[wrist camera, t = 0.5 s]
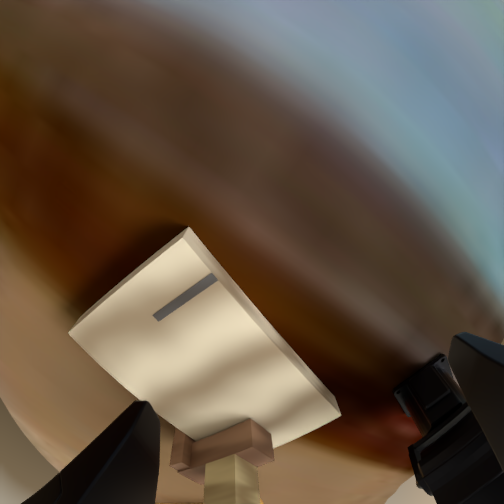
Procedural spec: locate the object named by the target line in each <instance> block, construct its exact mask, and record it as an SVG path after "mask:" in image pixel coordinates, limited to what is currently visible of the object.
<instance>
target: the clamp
mask: <svg viewBox="0 0 504 504" xmlns="http://www.w3.org/2000/svg"><path fill="white" fill-rule="evenodd" d="M156 504H169V503H156ZM197 504H204V503H197ZM260 504H264V503H263V502H262V500H261V499H260Z"/></svg>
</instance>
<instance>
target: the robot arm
mask: <svg viewBox="0 0 504 504" xmlns="http://www.w3.org/2000/svg"><path fill="white" fill-rule="evenodd" d="M448 360H449V363H448ZM448 360H447V357H446V356H445V355H444V354H441V355H440V356H439V357H437V358H436V359H435V360H433V361H432V362H431V363H429V364H428V365H427V366H425V367H424V368H423V369H421V370H420V371H419V372H417V373H416V374H414V375H413V376H412V377H410V378H409V379H407V380H406V381H404V382H403V383H401V384H400V385H398V386H397V387H395V388H394V389H393V394H394V395H395V397H396V399H397V400H398V402H399V403H400V405H401V407H402V408H403V410H404V412H405V413H406V415H407V416H408V417H412V419H413V420H414V422H415V424H416V426H417V428H418V429H419V431H420V433H421V435H422V437H423V438H421V439H420V440H418V441H417V442H416V443H414V444H412V445H410V446H409V447H408V450H409V457H410V460H411V464H412V467H413V470H414V474H415V477H416V485H417V487H418V488H421V489H424V491H425V492H426V493H427V494H429V495H430V496H434V498H435V500H436V503H437V504H504V345H501V344H498V343H496V342H493V341H490V340H487V339H484V338H481V337H478V336H475V335H473V334H470V333H467V332H462V333H459V334H457V335H455V336H453V338H452V341H451V346H450V351H449V356H448ZM449 364H450V366H451V368H452V371H453V373H454V375H455V377H456V379H457V381H458V383H459V386H460V387H459V386H458V385H457V383H456V382H455V381H454V379H453V376H452V373H451V369H450V366H449ZM159 462H160V420H159V418H158V416H157V414H156V412H155V411H154V409H153V407H152V405H151V404H150V402H149V401H146V400H141V401H134V402H133V403H132V404H131V405H130V406H129V407H128V408H127V409H126V410H125V411H124V412H123V413H122V414H120V415H119V416H118V417H117V418H116V419H115V420H114V421H113V422H112V423H111V424H110V425H109V426H108V427H107V428H106V429H105V430H104V431H103V432H102V433H101V434H100V435H99V436H98V437H97V438H95V439H94V440H93V441H92V442H91V443H90V444H89V445H88V446H87V447H86V448H85V449H84V450H83V451H82V452H81V453H80V454H79V455H77V456H76V457H75V458H74V459H73V460H72V461H71V462H70V463H69V464H68V465H67V466H66V467H65V468H64V469H62V470H61V471H60V473H58V474H57V475H56V476H55V477H54V478H53V479H52V480H50V481H49V482H48V483H47V484H46V485H45V486H44V487H42V488H41V489H40V490H39V491H37V492H36V493H35V494H34V495H32V496H31V497H29V498H28V499H27V500H25V501H24V502H23V503H21V504H155V498H156V490H157V482H158V475H159Z"/></svg>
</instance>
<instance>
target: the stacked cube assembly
mask: <svg viewBox="0 0 504 504" xmlns="http://www.w3.org/2000/svg"><path fill="white" fill-rule="evenodd" d="M272 461H275V460H274V452H273V444H272V436H271V433H269V432H268V431H267V430H265V429H264V428H263V427H261V426H260V425H259V424H257V423H256V422H255V421H253V420H252V419H248V420H246V421H244V422H242V423H240V424H237V425H235V426H233V427H231V428H228V429H226V430H224V431H221V432H219V433H216V434H214V435H212V436H209V437H207V438H204V439H201V440H199V441H195V440H194V439H192V438H191V437H189V436H188V435H186V434H185V433H183V432H182V431H180V430H179V429H178V428H175V434H174V440H173V446H172V453H171V459H170V467H172V468H174V469H176V470H177V471H178V473H179V474H181V475H183V476H185V477H187V478H189V479H191V480H192V481H194V482H196V483H198V484H200V485H203V484H204V504H260V494H259V482H258V470H257V467H259V466H262V465H265V464H267V463H270V462H272Z"/></svg>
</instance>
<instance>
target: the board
mask: <svg viewBox="0 0 504 504" xmlns="http://www.w3.org/2000/svg"><path fill="white" fill-rule="evenodd" d="M68 334H69V335H70V336H71V337H72V338H73V339H74V340H75V341H76V342H77V343H78V344H79V345H80V346H81V347H82V348H83V349H84V350H85V351H86V352H87V353H88V354H89V355H90V356H91V357H92V358H93V359H94V360H95V361H96V362H97V363H98V364H99V365H100V366H101V367H102V368H104V369H105V370H106V371H107V372H108V373H109V374H110V375H111V376H112V377H113V378H115V379H116V380H117V381H118V382H119V383H120V384H121V385H123V386H124V387H125V388H126V389H127V390H128V391H130V392H131V393H132V394H133V395H134V396H136V397H137V398H138V399H139V400H146V401H149V402H150V404H151V405H152V407H153V409H154V411H155V412H156V413H157V414H158V415H160V416H161V417H162V418H164V419H165V420H166V421H168V422H169V423H171V424H172V425H173V426H175V427H176V428H178V429H179V430H180V431H182V432H183V433H185V434H186V435H188V436H189V437H191V438H192V439H194V440H195V441H199V440H201V439H204V438H207V437H209V436H212V435H214V434H216V433H219V432H221V431H224V430H226V429H228V428H231V427H233V426H235V425H237V424H240V423H242V422H244V421H246V420H248V419H252V420H253V421H255V422H256V423H257V424H259V425H260V426H261V427H263V428H264V429H265V430H267V431H268V432H269V433H271V436H272V444H273V448H276V447H278V446H280V445H283V444H285V443H287V442H289V441H292V440H294V439H296V438H298V437H300V436H302V435H304V434H307V433H309V432H311V431H313V430H315V429H317V428H319V427H321V426H323V425H325V424H327V423H329V422H330V421H332V420H334V419H336V418H338V417H340V416H342V415H341V413H340V410H339V407H338V404H337V402H336V399H335V396H334V395H333V394H332V393H331V392H330V391H329V390H328V389H327V388H326V386H325V385H324V384H323V383H322V382H321V381H320V380H319V379H318V378H317V376H316V375H315V374H314V373H313V372H312V371H311V370H310V369H309V368H308V366H307V365H306V364H305V363H304V362H303V361H302V360H301V359H300V357H299V356H298V355H297V354H296V353H295V352H294V351H293V349H292V348H291V347H290V346H289V345H288V344H287V343H286V341H285V340H284V339H283V338H282V337H281V336H280V335H279V333H278V332H277V331H276V330H275V329H274V328H273V326H272V325H271V324H270V323H269V322H268V321H267V320H266V318H265V317H264V316H263V315H262V314H261V313H260V311H259V310H258V309H257V308H256V307H255V306H254V304H253V303H252V302H251V301H250V300H249V298H248V297H247V296H246V295H245V294H244V293H243V291H242V290H241V289H240V288H239V287H238V285H237V284H236V283H235V282H234V281H233V279H232V278H231V277H230V276H229V275H228V274H227V272H226V271H225V270H224V269H223V268H222V266H221V265H220V264H219V263H218V261H217V260H216V259H215V258H214V257H213V255H212V254H211V253H210V252H209V251H208V249H207V248H206V247H205V246H204V244H203V243H202V242H201V241H200V240H199V238H198V237H197V236H196V235H195V233H194V232H193V231H192V230H191V228H190V227H187V228H186V229H185V230H184V231H182V232H181V233H180V234H179V235H177V236H176V237H175V238H173V239H172V240H171V241H170V242H168V243H167V244H166V245H165V246H163V247H162V248H161V249H160V250H158V251H157V252H156V253H155V254H153V255H152V256H151V257H150V258H149V259H147V260H146V261H145V262H144V263H142V264H141V265H140V266H139V267H138V268H136V269H135V270H134V271H133V272H132V273H130V274H129V275H128V276H127V277H126V278H124V279H123V280H122V281H121V282H120V283H118V284H117V285H116V286H115V287H114V288H113V289H111V290H110V291H109V292H108V293H107V294H106V295H104V296H103V297H102V298H101V299H100V300H99V301H97V302H96V303H95V304H94V305H93V306H92V307H91V308H89V309H88V310H87V311H86V312H85V313H84V314H83V315H82V316H80V318H79V319H78V320H77V322H76V323H75V324H74V326H73V327H72V328H71V329H70V331H69V332H68Z"/></svg>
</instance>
